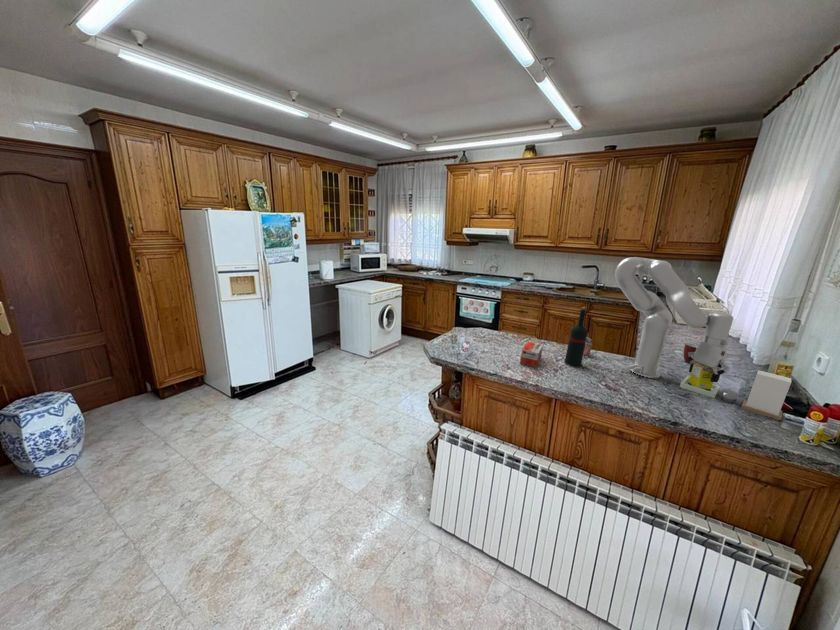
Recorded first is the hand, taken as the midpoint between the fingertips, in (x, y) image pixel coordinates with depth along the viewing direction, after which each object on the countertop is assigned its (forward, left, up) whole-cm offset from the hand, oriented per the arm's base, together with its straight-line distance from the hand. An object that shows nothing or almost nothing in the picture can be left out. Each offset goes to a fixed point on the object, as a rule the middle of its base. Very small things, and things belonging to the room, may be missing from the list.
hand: (702, 376), depth 144 cm
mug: (+27, +27, -6) cm, 39 cm away
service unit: (+7, -19, -6) cm, 21 cm away
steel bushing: (+2, -11, -6) cm, 12 cm away
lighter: (-28, +42, -6) cm, 51 cm away
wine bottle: (-43, +31, -6) cm, 53 cm away
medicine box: (-64, +34, -6) cm, 73 cm away
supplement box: (0, 0, -6) cm, 6 cm away
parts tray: (0, 0, -6) cm, 6 cm away
